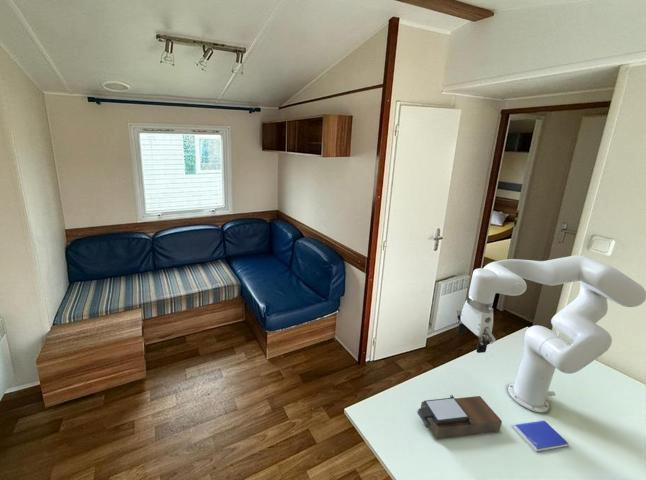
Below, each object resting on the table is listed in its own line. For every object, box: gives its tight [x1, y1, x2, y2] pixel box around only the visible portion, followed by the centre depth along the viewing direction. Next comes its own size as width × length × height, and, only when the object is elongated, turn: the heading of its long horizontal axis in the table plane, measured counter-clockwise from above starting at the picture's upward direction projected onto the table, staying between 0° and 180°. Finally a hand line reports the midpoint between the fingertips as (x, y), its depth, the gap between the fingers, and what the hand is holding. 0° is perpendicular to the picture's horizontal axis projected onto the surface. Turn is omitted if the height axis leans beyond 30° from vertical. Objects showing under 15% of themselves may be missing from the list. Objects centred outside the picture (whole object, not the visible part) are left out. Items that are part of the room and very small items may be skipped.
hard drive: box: [513, 420, 569, 452], centre depth 100 cm, size 2×8×12 cm
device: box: [417, 396, 469, 428], centre depth 103 cm, size 16×8×4 cm, turn 97°
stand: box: [420, 394, 503, 440], centre depth 104 cm, size 24×10×7 cm, turn 97°
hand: (470, 342), depth 108 cm, fingers open, 9 cm apart
